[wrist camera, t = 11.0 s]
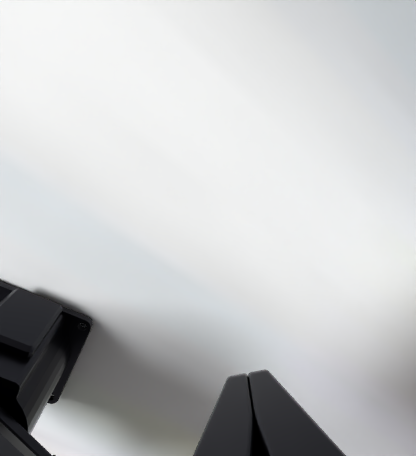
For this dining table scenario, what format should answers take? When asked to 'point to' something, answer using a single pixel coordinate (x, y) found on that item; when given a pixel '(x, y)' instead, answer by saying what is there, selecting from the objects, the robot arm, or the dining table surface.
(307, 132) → the dining table surface
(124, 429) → the dining table surface
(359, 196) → the dining table surface
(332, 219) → the dining table surface
